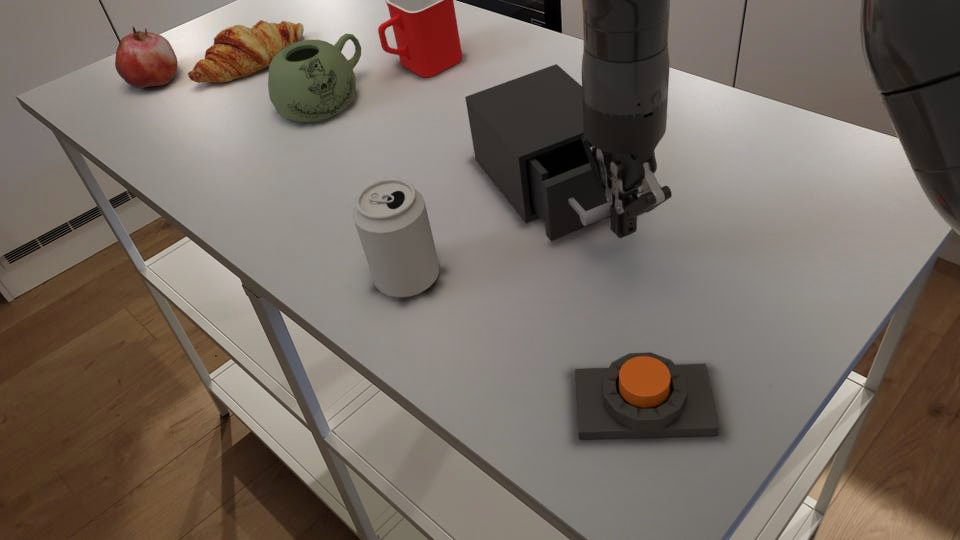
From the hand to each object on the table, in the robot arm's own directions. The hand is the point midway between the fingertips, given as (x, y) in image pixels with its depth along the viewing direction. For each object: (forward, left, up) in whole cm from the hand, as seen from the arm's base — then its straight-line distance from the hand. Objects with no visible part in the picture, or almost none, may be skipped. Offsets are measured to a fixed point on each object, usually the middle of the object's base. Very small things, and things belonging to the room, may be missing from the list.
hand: (623, 231), depth 79 cm
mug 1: (+41, -38, -4) cm, 56 cm away
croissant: (+56, -51, -4) cm, 76 cm away
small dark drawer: (+5, -9, -3) cm, 11 cm away
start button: (0, +19, -2) cm, 19 cm away
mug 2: (+27, -45, -4) cm, 53 cm away
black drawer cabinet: (+8, -16, -4) cm, 19 cm away
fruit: (+72, -48, -4) cm, 87 cm away
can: (+24, +1, -4) cm, 24 cm away
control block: (0, +19, -4) cm, 19 cm away
